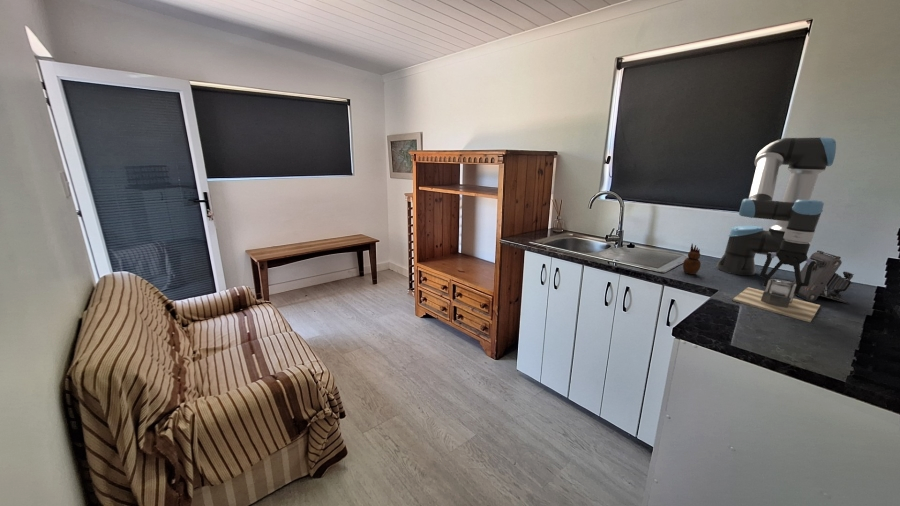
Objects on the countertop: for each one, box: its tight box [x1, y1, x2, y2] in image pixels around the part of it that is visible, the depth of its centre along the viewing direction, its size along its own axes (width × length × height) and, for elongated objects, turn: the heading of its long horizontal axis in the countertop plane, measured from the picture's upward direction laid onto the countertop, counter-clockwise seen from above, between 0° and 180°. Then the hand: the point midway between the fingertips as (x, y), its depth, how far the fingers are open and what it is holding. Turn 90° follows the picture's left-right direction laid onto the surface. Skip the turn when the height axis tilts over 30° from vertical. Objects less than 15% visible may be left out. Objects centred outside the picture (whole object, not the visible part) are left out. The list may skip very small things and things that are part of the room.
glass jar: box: [769, 278, 794, 297], centre depth 130 cm, size 6×6×7 cm
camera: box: [792, 250, 855, 305], centre depth 137 cm, size 11×17×20 cm, turn 79°
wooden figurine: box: [682, 243, 702, 275], centre depth 163 cm, size 7×6×15 cm
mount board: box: [732, 286, 821, 323], centre depth 132 cm, size 22×22×1 cm
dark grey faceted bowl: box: [761, 292, 796, 308], centre depth 131 cm, size 11×8×4 cm
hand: (777, 297), depth 131 cm, fingers closed on glass jar, 6 cm apart
